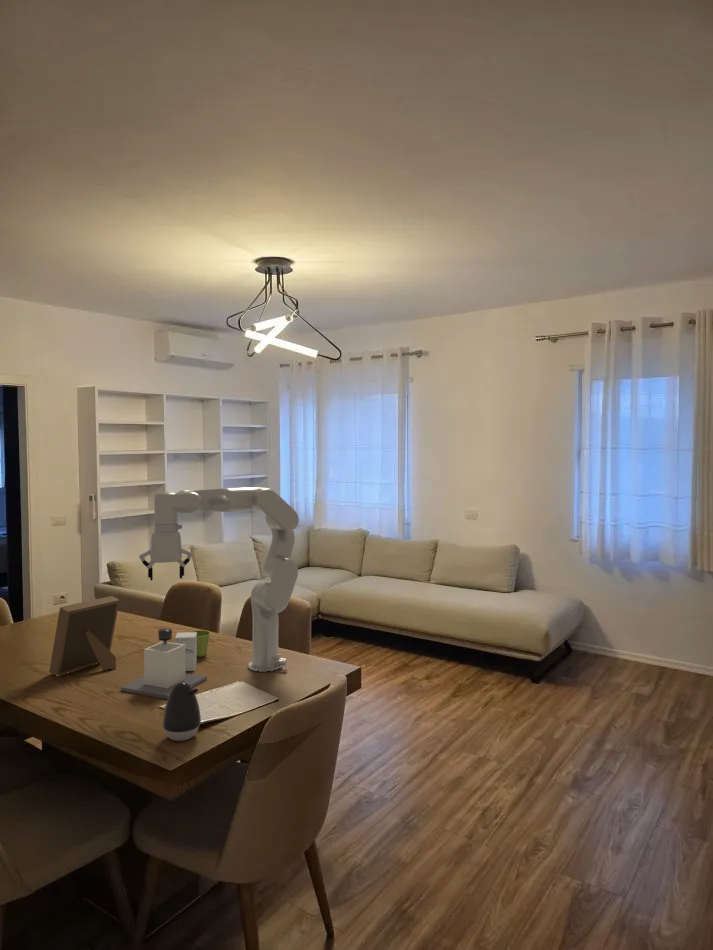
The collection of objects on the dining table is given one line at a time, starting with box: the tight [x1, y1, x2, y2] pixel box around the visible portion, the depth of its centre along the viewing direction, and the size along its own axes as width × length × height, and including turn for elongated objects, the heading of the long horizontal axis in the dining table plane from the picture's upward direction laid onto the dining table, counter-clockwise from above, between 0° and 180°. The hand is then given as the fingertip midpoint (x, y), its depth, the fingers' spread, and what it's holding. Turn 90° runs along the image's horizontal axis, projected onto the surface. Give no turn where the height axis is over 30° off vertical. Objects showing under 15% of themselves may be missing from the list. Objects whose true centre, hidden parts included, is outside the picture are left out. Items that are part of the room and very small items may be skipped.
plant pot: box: [190, 629, 212, 658], centre depth 248 cm, size 9×9×9 cm
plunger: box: [157, 628, 173, 651], centre depth 215 cm, size 7×7×17 cm
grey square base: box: [120, 641, 208, 700], centre depth 215 cm, size 20×20×13 cm
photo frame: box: [49, 595, 120, 676], centre depth 229 cm, size 15×22×25 cm
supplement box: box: [174, 631, 197, 672], centre depth 232 cm, size 7×7×13 cm
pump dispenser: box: [162, 682, 202, 742], centre depth 175 cm, size 10×10×15 cm
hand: (166, 578), depth 214 cm, fingers open, 9 cm apart
